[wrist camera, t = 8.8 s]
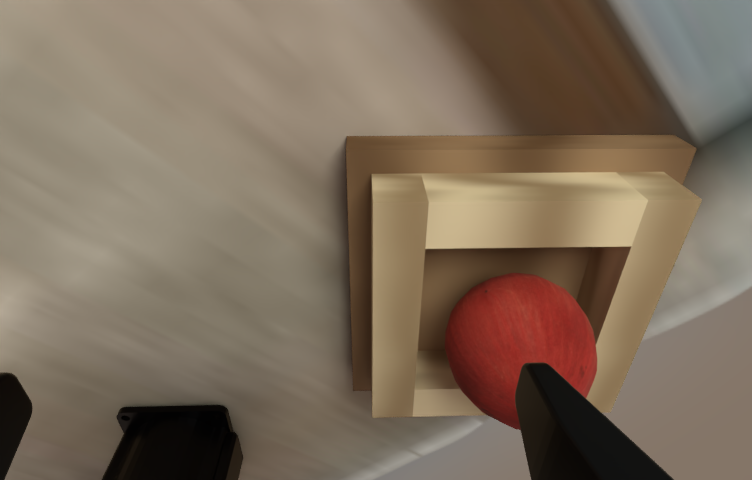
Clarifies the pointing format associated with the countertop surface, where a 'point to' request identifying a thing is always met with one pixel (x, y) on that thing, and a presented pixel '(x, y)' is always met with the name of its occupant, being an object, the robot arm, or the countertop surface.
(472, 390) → the onion
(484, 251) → the cradle board
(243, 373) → the countertop surface
